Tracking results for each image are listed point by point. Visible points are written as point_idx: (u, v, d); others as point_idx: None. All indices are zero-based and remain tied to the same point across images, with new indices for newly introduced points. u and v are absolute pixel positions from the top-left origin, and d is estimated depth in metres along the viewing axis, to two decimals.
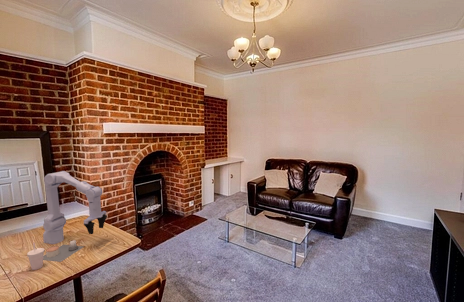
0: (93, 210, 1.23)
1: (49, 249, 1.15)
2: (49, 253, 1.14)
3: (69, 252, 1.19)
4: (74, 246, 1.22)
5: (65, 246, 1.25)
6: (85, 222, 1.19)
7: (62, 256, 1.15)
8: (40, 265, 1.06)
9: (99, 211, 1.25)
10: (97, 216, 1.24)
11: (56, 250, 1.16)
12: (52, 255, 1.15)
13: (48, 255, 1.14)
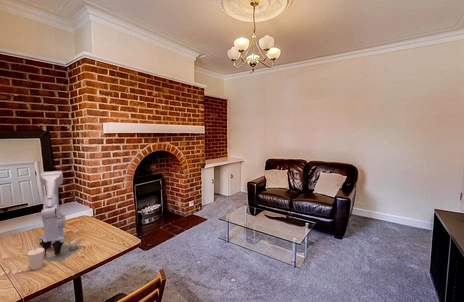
0: None
1: (49, 249, 1.15)
2: (49, 253, 1.14)
3: (69, 252, 1.19)
4: (74, 246, 1.22)
5: (65, 246, 1.25)
6: None
7: (62, 256, 1.15)
8: (40, 265, 1.06)
9: (46, 235, 1.13)
10: (44, 239, 1.14)
11: None
12: (52, 255, 1.15)
13: (48, 255, 1.14)
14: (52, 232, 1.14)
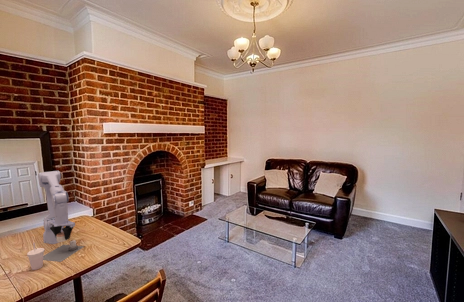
0: None
1: (59, 234, 1.18)
2: (59, 238, 1.16)
3: (69, 252, 1.19)
4: (74, 246, 1.22)
5: (65, 246, 1.25)
6: None
7: (62, 256, 1.15)
8: (40, 265, 1.06)
9: (56, 219, 1.15)
10: (55, 223, 1.16)
11: None
12: (62, 240, 1.17)
13: (58, 240, 1.16)
14: (62, 217, 1.16)
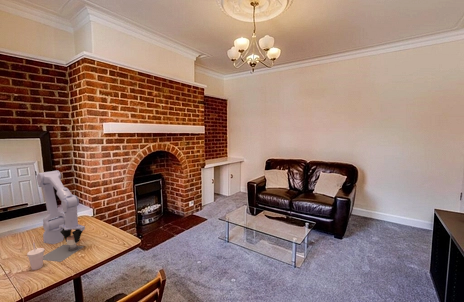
0: None
1: (69, 237, 1.21)
2: (69, 241, 1.19)
3: (69, 252, 1.19)
4: (74, 246, 1.22)
5: (65, 246, 1.25)
6: None
7: (62, 256, 1.15)
8: (40, 265, 1.06)
9: (67, 223, 1.18)
10: (65, 227, 1.19)
11: None
12: (72, 243, 1.20)
13: (68, 243, 1.19)
14: (72, 221, 1.19)
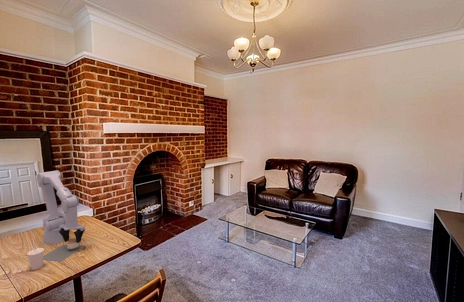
0: None
1: (69, 241, 1.21)
2: (70, 245, 1.19)
3: (69, 252, 1.19)
4: None
5: (65, 246, 1.25)
6: None
7: (62, 256, 1.15)
8: (40, 265, 1.06)
9: (67, 223, 1.18)
10: (65, 227, 1.19)
11: (76, 242, 1.21)
12: (72, 247, 1.20)
13: (69, 247, 1.20)
14: (72, 221, 1.19)
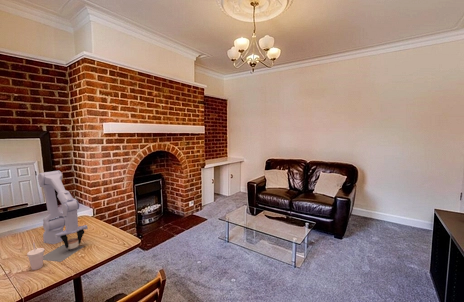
0: (66, 224, 1.18)
1: (69, 241, 1.21)
2: (69, 245, 1.19)
3: (69, 252, 1.19)
4: None
5: None
6: (56, 236, 1.16)
7: (62, 256, 1.15)
8: (40, 265, 1.06)
9: (73, 226, 1.19)
10: (70, 231, 1.19)
11: (76, 242, 1.21)
12: (72, 247, 1.20)
13: (69, 247, 1.20)
14: (77, 222, 1.22)
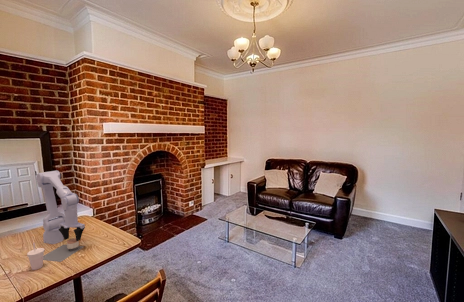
0: None
1: (70, 240, 1.22)
2: (67, 244, 1.20)
3: (69, 252, 1.19)
4: None
5: (65, 246, 1.25)
6: None
7: (62, 256, 1.15)
8: (40, 265, 1.06)
9: (66, 221, 1.18)
10: (65, 225, 1.19)
11: (71, 244, 1.20)
12: (68, 247, 1.20)
13: None
14: (72, 219, 1.19)
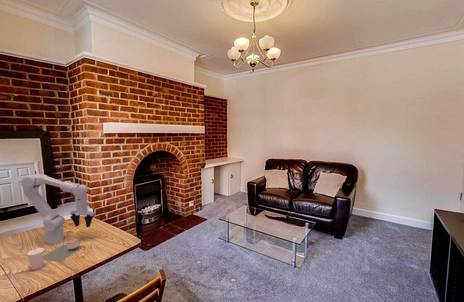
0: None
1: (70, 240, 1.22)
2: (67, 244, 1.20)
3: (69, 252, 1.19)
4: None
5: (65, 246, 1.25)
6: None
7: (62, 256, 1.15)
8: (40, 265, 1.06)
9: (77, 209, 1.30)
10: (76, 213, 1.30)
11: (71, 244, 1.20)
12: (68, 247, 1.20)
13: None
14: (83, 207, 1.31)
